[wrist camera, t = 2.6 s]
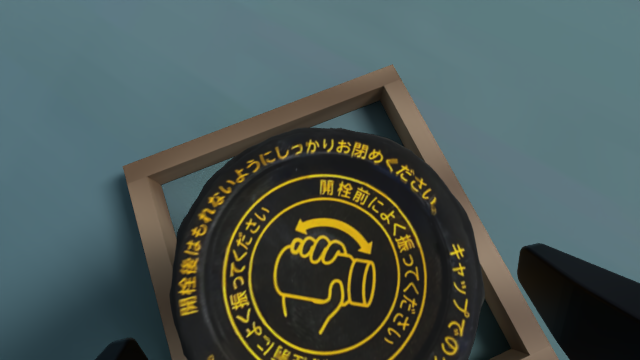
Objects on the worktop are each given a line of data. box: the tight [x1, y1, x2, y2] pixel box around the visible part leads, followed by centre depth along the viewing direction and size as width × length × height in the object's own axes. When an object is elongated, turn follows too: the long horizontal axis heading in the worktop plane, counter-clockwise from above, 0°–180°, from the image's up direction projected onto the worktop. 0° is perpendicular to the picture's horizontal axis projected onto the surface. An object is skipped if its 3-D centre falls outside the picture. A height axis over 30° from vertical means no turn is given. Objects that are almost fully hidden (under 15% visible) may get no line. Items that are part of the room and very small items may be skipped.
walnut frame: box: [123, 64, 559, 360], centre depth 16 cm, size 16×15×2 cm
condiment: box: [169, 127, 485, 360], centre depth 11 cm, size 7×8×12 cm
